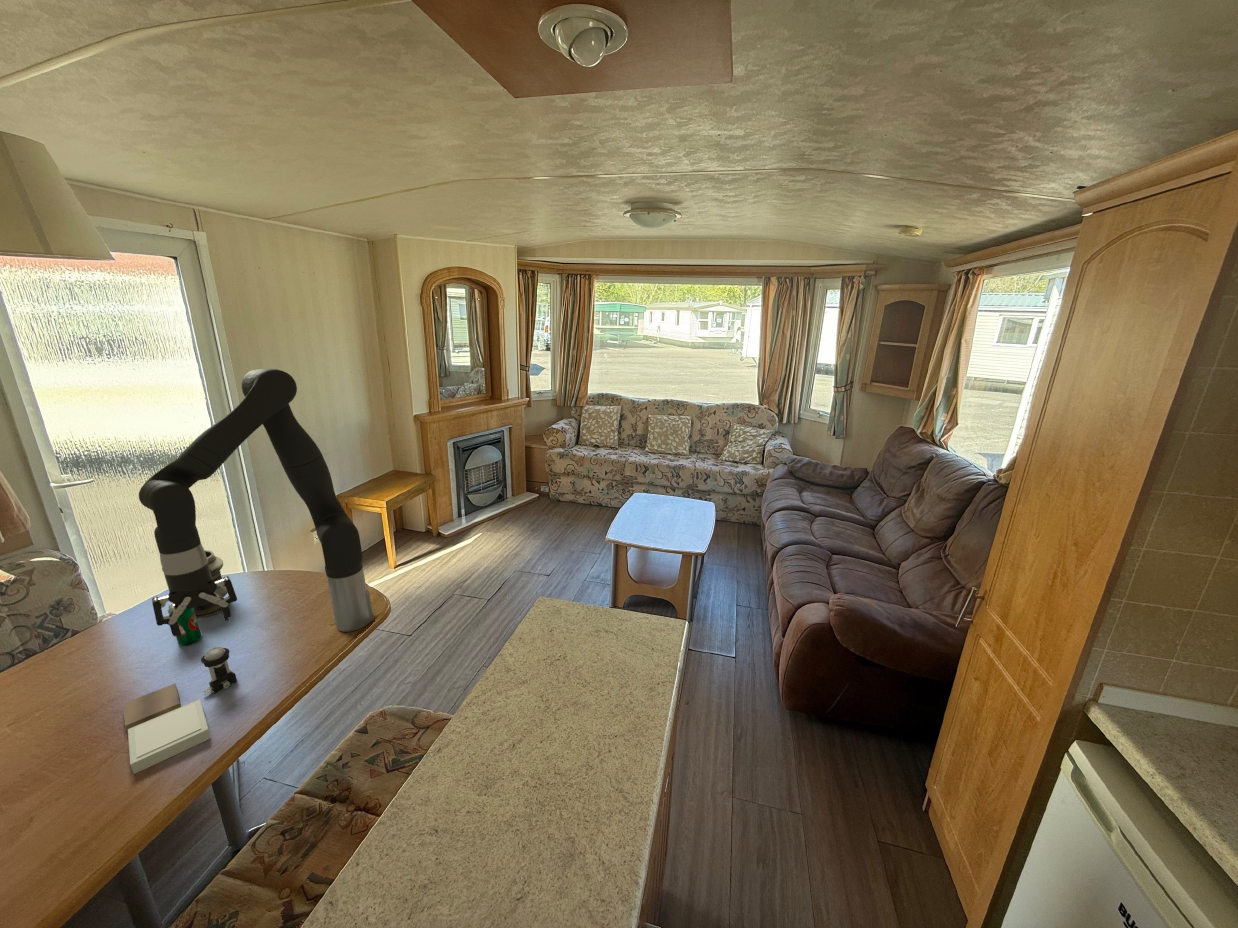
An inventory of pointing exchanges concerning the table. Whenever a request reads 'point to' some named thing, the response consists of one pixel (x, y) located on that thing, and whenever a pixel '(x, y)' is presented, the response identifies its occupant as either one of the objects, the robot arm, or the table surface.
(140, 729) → the cream tray
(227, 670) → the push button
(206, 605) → the apothecary jar
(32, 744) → the table surface
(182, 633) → the soda can
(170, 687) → the walnut stand
